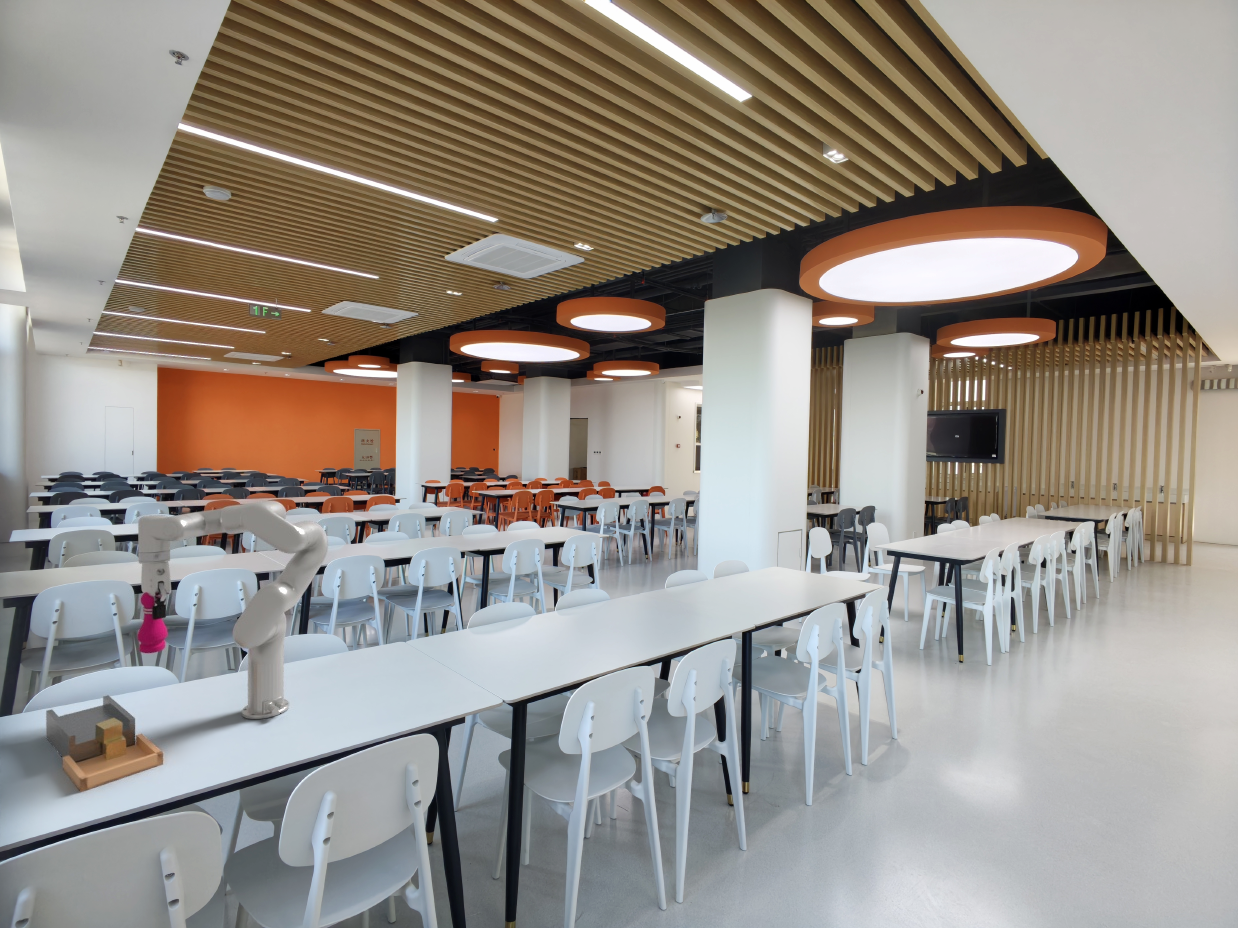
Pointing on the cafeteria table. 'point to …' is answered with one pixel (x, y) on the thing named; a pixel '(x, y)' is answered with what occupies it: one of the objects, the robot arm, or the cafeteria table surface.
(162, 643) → the pepper mill
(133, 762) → the tray
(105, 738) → the yellow tan cube
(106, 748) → the yellow wooden cube
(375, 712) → the cafeteria table surface
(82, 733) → the channel bed
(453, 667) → the cafeteria table surface
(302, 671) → the cafeteria table surface
